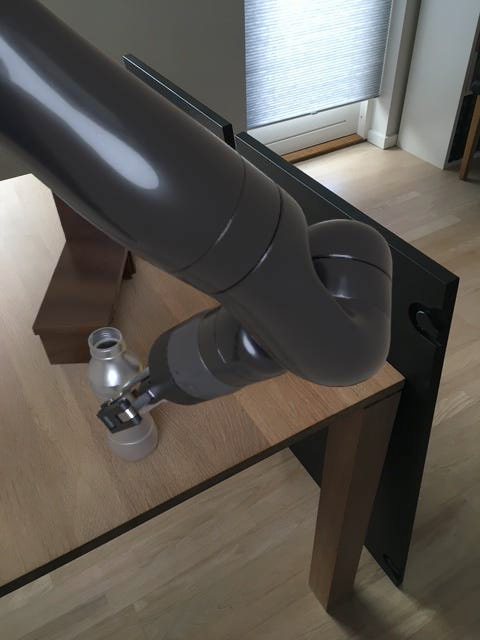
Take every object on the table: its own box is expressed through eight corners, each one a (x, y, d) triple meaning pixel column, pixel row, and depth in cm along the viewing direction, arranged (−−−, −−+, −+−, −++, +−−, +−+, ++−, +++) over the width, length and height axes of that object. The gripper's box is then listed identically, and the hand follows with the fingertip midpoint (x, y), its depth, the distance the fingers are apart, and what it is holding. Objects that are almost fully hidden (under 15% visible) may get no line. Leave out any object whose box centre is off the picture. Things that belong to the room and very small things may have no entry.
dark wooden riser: (117, 362, 83) (92, 268, 71) (47, 366, 83) (9, 272, 71) (136, 270, 101) (118, 182, 89) (78, 272, 101) (52, 185, 89)
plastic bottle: (132, 419, 75) (102, 310, 61) (170, 440, 72) (148, 331, 58) (100, 453, 71) (60, 345, 57) (139, 476, 68) (107, 368, 55)
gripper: (229, 281, 51) (157, 325, 64) (123, 373, 43) (64, 402, 56) (276, 342, 52) (195, 373, 65) (181, 444, 44) (110, 456, 57)
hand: (135, 387), depth 60 cm, fingers open, 8 cm apart
